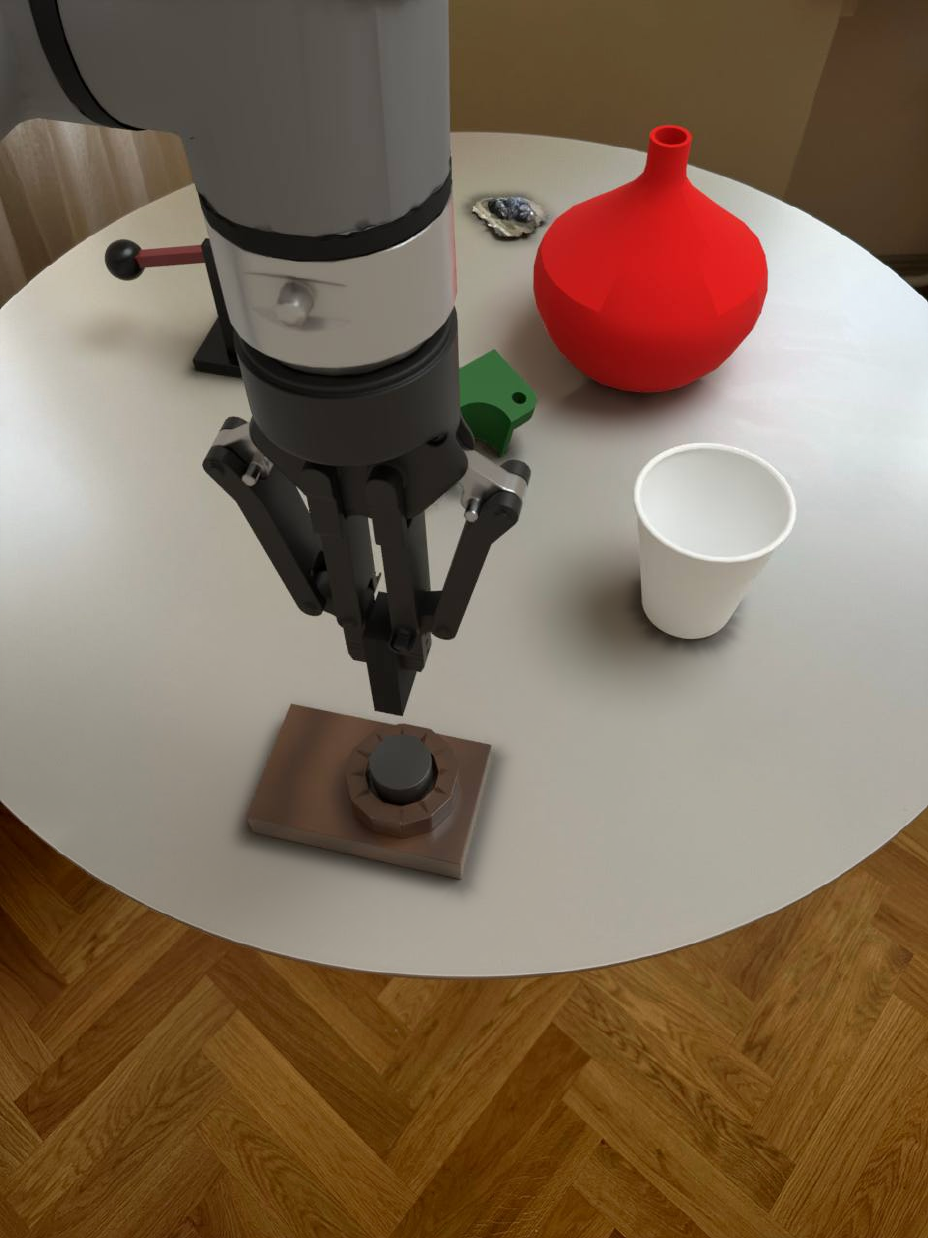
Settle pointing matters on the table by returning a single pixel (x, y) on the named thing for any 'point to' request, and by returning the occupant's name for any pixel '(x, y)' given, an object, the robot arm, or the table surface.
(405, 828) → the button block
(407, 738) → the button
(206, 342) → the black bracket
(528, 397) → the clamp
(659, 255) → the vase
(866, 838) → the table surface
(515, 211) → the grey flat irregular piece
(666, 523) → the cup
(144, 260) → the ball knob lever
